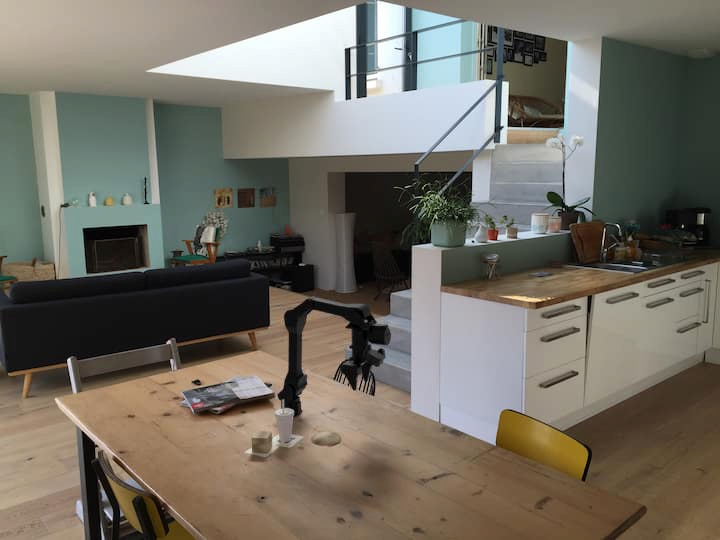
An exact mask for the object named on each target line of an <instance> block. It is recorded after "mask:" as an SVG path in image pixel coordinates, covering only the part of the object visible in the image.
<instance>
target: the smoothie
mask: <svg viewBox="0 0 720 540" xmlns="http://www.w3.org/2000/svg"><path fill="white" fill-rule="evenodd" d="M274 416H275V420H276V426H277V432H278V433H277V434H279V439H280V441H281V442H288V441H290V440H291V434H293V432H292V431H293V425H294V424H293V423H294V417H293V416H294V410H293V409H290V408H284V399H283V400H282V409H281V408H278V409H276V410H275V411H274Z"/></svg>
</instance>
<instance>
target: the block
mask: <svg viewBox="0 0 720 540" xmlns="http://www.w3.org/2000/svg"><path fill="white" fill-rule="evenodd" d="M272 438H273V432H272V431H266V430H265V431H264V430H256V431H255V433H254V434H253V435H252V436H251V447H252V453H266V454H267V453H268V452H269V450H270V449H271V448H272V445H273V444H272Z"/></svg>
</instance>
